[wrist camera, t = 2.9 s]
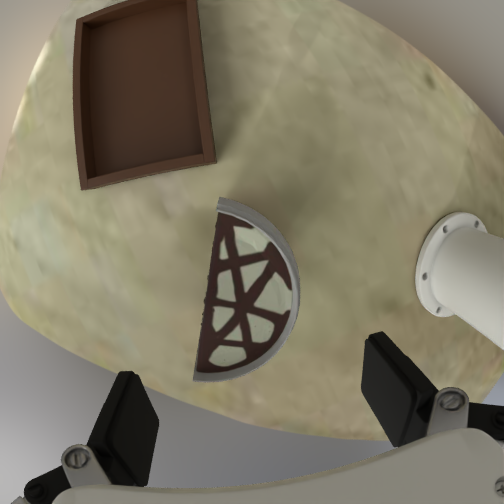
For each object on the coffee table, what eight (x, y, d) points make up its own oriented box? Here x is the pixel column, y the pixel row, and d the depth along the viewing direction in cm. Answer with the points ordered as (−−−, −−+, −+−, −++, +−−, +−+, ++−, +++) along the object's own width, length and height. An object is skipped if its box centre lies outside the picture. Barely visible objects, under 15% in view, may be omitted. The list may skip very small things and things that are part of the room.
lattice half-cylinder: (265, 328, 28) (280, 396, 18) (203, 319, 27) (191, 387, 18) (293, 203, 25) (330, 220, 16) (223, 190, 25) (217, 199, 15)
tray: (197, -1, 19) (194, -16, 17) (217, 163, 24) (215, 161, 21) (87, 29, 19) (76, 19, 16) (94, 188, 24) (81, 190, 21)
